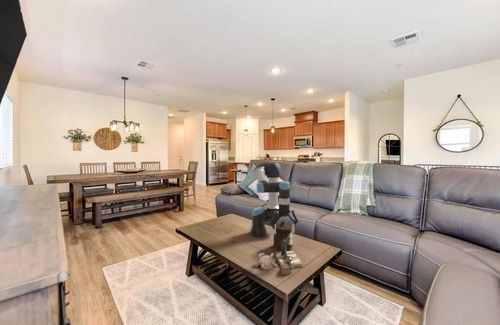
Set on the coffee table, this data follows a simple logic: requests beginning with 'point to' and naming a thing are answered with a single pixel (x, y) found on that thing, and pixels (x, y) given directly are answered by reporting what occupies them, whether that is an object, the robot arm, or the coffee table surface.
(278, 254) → the board
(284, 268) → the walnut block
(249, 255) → the coffee table surface
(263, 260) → the beige animal figurine
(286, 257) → the lever
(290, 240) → the wooden container
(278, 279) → the coffee table surface
